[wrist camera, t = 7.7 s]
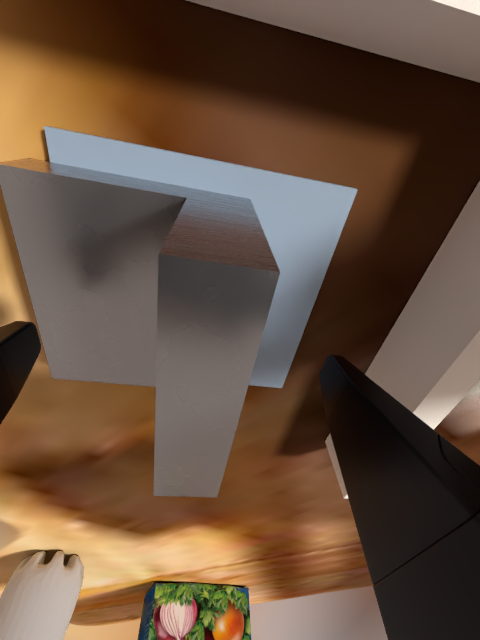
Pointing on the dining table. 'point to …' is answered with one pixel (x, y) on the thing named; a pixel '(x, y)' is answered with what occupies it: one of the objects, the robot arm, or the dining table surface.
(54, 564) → the bottle
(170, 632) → the blue food package
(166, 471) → the bracket
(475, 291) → the l-shaped block
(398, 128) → the dining table surface
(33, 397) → the dining table surface
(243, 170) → the mat
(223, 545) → the dining table surface
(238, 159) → the dining table surface
